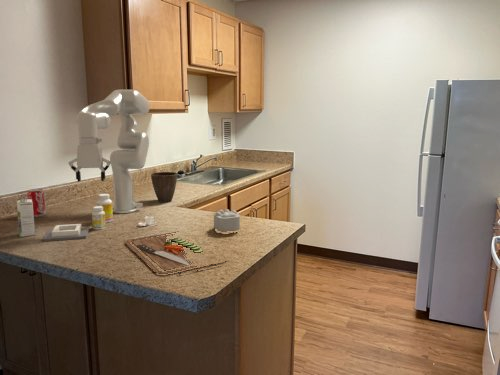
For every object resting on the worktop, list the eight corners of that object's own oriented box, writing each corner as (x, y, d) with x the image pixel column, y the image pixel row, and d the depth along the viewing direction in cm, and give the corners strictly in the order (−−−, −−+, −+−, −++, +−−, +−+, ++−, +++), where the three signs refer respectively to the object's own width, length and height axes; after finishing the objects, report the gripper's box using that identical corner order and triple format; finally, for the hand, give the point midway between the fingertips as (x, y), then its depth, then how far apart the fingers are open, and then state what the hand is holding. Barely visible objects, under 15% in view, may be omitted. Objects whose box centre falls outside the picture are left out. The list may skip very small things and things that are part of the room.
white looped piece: (137, 228, 179) (137, 219, 178) (138, 223, 187) (138, 215, 186) (157, 227, 181) (157, 218, 180) (157, 222, 189) (157, 214, 188)
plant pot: (146, 201, 231) (145, 173, 228) (167, 197, 242) (166, 171, 239) (162, 205, 222) (161, 176, 219) (183, 200, 233) (182, 173, 230)
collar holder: (89, 228, 177) (89, 222, 176) (86, 238, 164) (85, 231, 163) (49, 231, 173) (49, 224, 172) (42, 241, 159) (42, 234, 159)
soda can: (39, 217, 194) (36, 191, 191) (26, 216, 195) (23, 190, 193) (49, 214, 201) (46, 188, 198) (36, 213, 202) (34, 188, 200)
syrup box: (19, 233, 169) (15, 200, 166) (35, 231, 172) (31, 198, 169) (19, 237, 164) (15, 202, 162) (35, 235, 167) (32, 201, 164)
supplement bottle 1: (116, 220, 191) (114, 193, 188) (107, 223, 185) (105, 196, 182) (104, 218, 193) (102, 192, 191) (95, 222, 187) (93, 195, 184)
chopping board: (236, 264, 139) (236, 256, 138) (162, 281, 124) (162, 272, 124) (183, 231, 176) (183, 224, 175) (121, 242, 161) (121, 234, 161)
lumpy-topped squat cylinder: (219, 235, 169) (219, 215, 168) (210, 227, 181) (210, 208, 180) (242, 232, 174) (242, 213, 172) (231, 224, 185) (231, 206, 184)
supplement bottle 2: (96, 230, 174) (95, 209, 172) (90, 228, 178) (89, 207, 176) (108, 228, 178) (106, 207, 176) (101, 225, 182) (100, 205, 180)
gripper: (111, 140, 177) (112, 179, 180) (69, 141, 174) (71, 179, 177) (108, 142, 170) (110, 181, 173) (64, 142, 166) (67, 182, 169)
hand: (91, 180), depth 175 cm, fingers open, 9 cm apart
